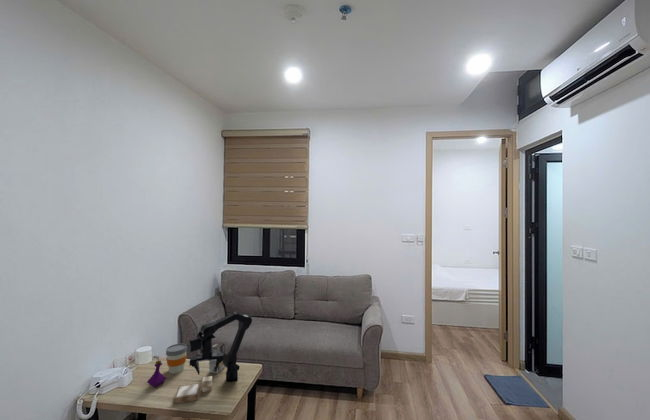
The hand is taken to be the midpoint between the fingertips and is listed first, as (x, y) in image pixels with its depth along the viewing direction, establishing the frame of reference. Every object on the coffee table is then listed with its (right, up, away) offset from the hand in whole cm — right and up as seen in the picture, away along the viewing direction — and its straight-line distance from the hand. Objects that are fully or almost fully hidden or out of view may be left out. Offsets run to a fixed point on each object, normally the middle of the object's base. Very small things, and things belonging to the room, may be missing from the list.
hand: (207, 373), depth 180 cm
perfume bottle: (-32, -10, +4) cm, 34 cm away
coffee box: (-2, -10, +22) cm, 24 cm away
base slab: (-9, -9, -7) cm, 14 cm away
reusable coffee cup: (-29, -10, +22) cm, 38 cm away
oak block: (0, -9, 0) cm, 9 cm away
